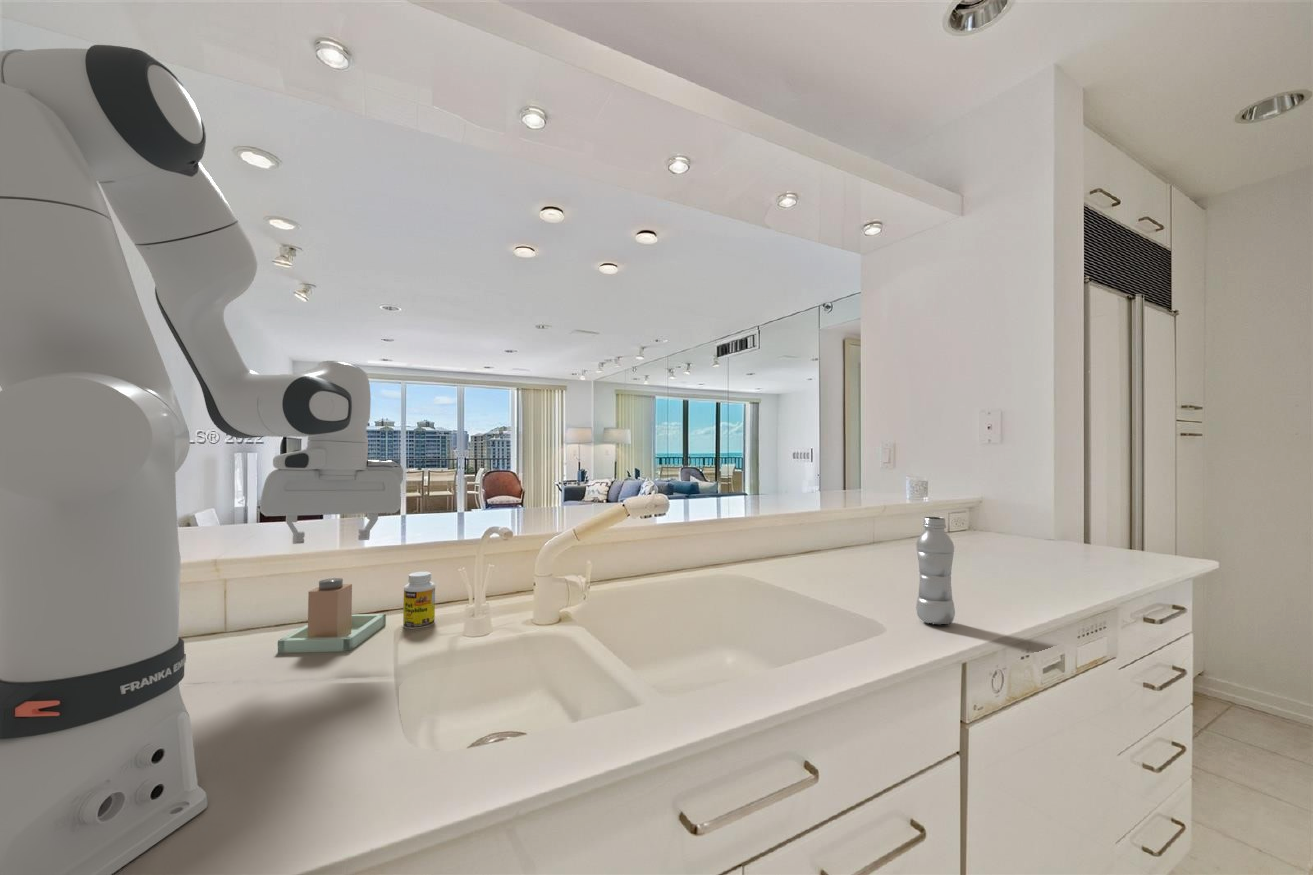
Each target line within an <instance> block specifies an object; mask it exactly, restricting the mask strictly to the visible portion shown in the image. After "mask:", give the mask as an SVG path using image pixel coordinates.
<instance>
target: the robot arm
mask: <svg viewBox="0 0 1313 875" xmlns="http://www.w3.org/2000/svg"><path fill="white" fill-rule="evenodd" d="M203 121H204V120H203V118H202V115H201V113H200V111H199V109H198V107H197V105H196V103H195V101H194V100H193V98H192V96H191V94H190V93H189V91H188V90H187V88H186V87H185V86H184V84H183V83H182V82H181V81H180V79H179V77H178V76H176V74H174V73H173V71H172V70H170V69H169V68H168V67H167V66H166V65H164V64H163V63H162V62H160V61H159V60H157V58H156V59H155V58H154V57H153V56H152V55H150V54H148V53H147V52H145V51H144V50H141V49H137V48H132V47H126V46H120V45H109V44H93V45H91V46H90V47H88V48H74V47H73V48H66V47H65V48H64V47H63V48H39V49H37V48H36V49H28V50H26V49H21V48H18V49H17V48H15V49H14V48H13V49H6V50H0V389H1V390H0V875H113V874H114V873H116V872H117V871H118V870H120V869H121V868H122V867H125V865H127V864H129V863H130V862H131V861H133V860H134V859H136V858H137V857H139V855H141V854H143V853H144V852H146V851H147V850H149V849H150V848H151V847H153V846H154V845H157V843H158V842H160V841H162V840H163V839H164V838H166V837H168V836H169V835H170V834H171V833H173V832H175V831H176V830H177V829H179V828H181V827H182V826H183V825H184V824H186V823H187V822H189V821H190V820H191V819H193V818H194V817H196V816H198V815H199V814H200V813H202V812H203V811H205V809H206V808H207V807H208V796H207V792H206V791H205V790H204V789H203V788H202V787H201V786H199V785H198V784H199V777H198V775H197V770H196V758H195V750H194V749H195V748H194V747H195V746H194V740H193V732H192V730H193V729H192V723H191V718H190V714H189V711H188V710H187V708H186V705H185V703H184V701H183V698H182V694H181V689H180V683H181V681H183V678H184V677H185V664H186V663H187V654H186V653H185V641H184V639H183V638H181V637H179V636H180V635H179V632H180V631H179V630H180V601H181V600H180V598H181V553H180V542H179V531H178V516H177V515H178V512H177V491H176V489H177V488H176V486H177V485H176V484H177V483H176V482H177V480H176V473H177V472H178V471H179V470H180V468H181V467H182V466H183V464H184V462H185V461H186V459H187V457H188V454H189V451H190V447H191V446H190V445H191V439H190V438H191V437H190V436H191V435H190V432H189V429H188V425H187V423H186V420H185V416H184V414H183V410H182V409H181V406H180V403H179V400H178V398H177V395H176V393H175V390H174V387H173V384H172V382H171V380H170V376H169V374H168V371H167V368H166V366H165V363H164V361H163V358H162V356H161V353H160V350H159V348H158V346H157V343H156V340H155V338H154V335H153V333H152V331H151V329H150V325H149V323H148V320H147V318H146V316H145V313H144V310H143V307H142V305H141V302H140V299H139V297H138V296H139V295H138V294H137V290H136V288H135V284H134V281H133V278H132V275H131V272H130V269H129V266H128V263H127V260H126V258H125V255H124V252H123V248H122V246H121V242H120V239H119V237H118V232H117V230H116V227H115V224H114V221H113V219H112V216H111V213H110V211H109V207H108V205H107V202H108V203H109V206H110V207H111V209H112V211H113V212H114V215H115V217H116V218H117V219H118V222H119V223H120V224H121V226H122V228H123V230H124V231H125V233H126V234H127V236H128V238H130V241H132V243H133V244H134V246H135V248H136V249H137V251H138V253H139V254H140V255H141V257H142V259H143V260H144V262H145V265H146V266H147V268H148V270H149V272H150V274H151V276H152V280H153V283H154V284H155V288H154V294H155V300H156V302H157V305H158V309H159V310H160V314H162V317H163V319H164V321H165V323H166V325H167V326H168V329H169V330H170V332H171V334H172V336H173V338H174V340H175V341H176V343H177V345H178V347H179V349H180V351H181V352H182V355H183V356H184V358H185V359H186V361H187V363H188V365H189V367H190V368H191V371H192V373H193V374H194V375H195V378H196V380H197V381H198V383H199V385H200V386H199V387H200V388H201V392H202V396H203V399H204V403H205V408H206V411H207V413H208V416H209V418H210V420H211V421H212V423H213V424H214V425H215V427H216V428H217V429H218V430H220V431H221V432H222V433H223V434H226V436H227V435H228V436H230V437H233V438H236V439H237V438H238V439H254V438H264V437H271V438H273V437H274V438H275V437H279V438H280V437H281V438H288V437H289V438H290V437H293V438H294V437H299V438H301V437H304V438H305V437H307V443H306V447H305V448H304V449H301V450H300V449H295V450H292V451H290V452H286V453H281V454H278V455H275V456H274V457H273V459H272V466H273V468H275V470H272V471H271V472H270V473H269V474H268V475H267V476H266V478H265V480H264V484H263V487H262V492H261V497H260V502H259V512H260V513H261V514H262V515H264V517H285V523H286V525H288V528H289V529H290V531H291V533H292V545H299V544H305V539H304V538H305V534H306V533H305V531H298V529H297V528H296V526H295V525H294V523H297V522H298V516H319V515H320V516H321V515H322V516H327V515H328V516H329V515H359V514H361V515H364V514H366V519H367V520H369V521H368V522H367V523H366V525H365V526H364V528H359V529H358V537H357V538H358V540H359V541H369V540H370V534H371V530H372V529H373V527H374V526H375V525H376V523H377V522H378V520H379V514H395V513H397V512H398V511H399V510H400V509H401V508H402V494H401V484H402V483H403V480H404V468H403V467H402V466H401V465H400V464H399V463H396V462H395V461H392V460H386V461H385V460H384V461H383V460H376V459H374V460H373V459H372V460H371V459H369V460H368V452H369V451H368V450H369V439H368V435H367V434H368V433H367V428H368V423H369V422H370V419H371V404H372V403H371V399H372V397H371V385H370V379H369V377H368V374H367V372H366V371H365V370H363V369H362V368H361V367H360V366H359V367H358V366H356V365H354V364H352V363H347V362H343V361H338V360H325V361H320V362H319V363H318V364H317V366H314V367H313V368H311V369H310V368H309V369H308V370H307V369H306V370H305V371H298V372H294V373H291V374H290V373H288V374H261V373H259V372H256V371H254V370H252V369H251V368H249V367H248V366H247V365H246V364H245V362H244V361H243V358H242V356H241V354H240V352H239V350H238V348H237V346H236V344H235V341H234V340H233V338H232V336H231V333H230V331H229V330H228V327H227V324H226V322H225V319H224V317H225V316H224V315H225V310H226V307H227V306H228V305H229V304H230V303H231V302H233V301H234V300H235V299H238V298H239V297H241V296H242V295H243V294H245V292H246V291H247V290H248V289H249V288H250V287H251V285H253V284H252V283H253V282H254V280H255V279H256V278H255V277H256V275H257V272H258V271H257V270H258V260H257V258H256V257H257V256H256V253H255V250H254V248H253V245H252V243H251V241H250V239H249V237H248V235H247V234H246V232H245V230H244V228H243V227H242V225H241V223H240V222H239V219H238V217H237V216H236V214H235V213H234V211H233V210H232V209H233V208H231V206H230V204H229V203H228V201H227V199H226V198H225V196H224V194H223V193H222V192H221V190H220V189H219V187H218V186H217V185H216V183H215V182H214V180H213V178H212V177H211V176H210V174H209V172H207V170H206V169H205V168H204V166H203V165H202V163H201V162H200V161H201V160H202V159H203V157H204V154H205V149H206V143H207V141H206V140H207V135H206V134H207V133H206V128H205V125H204V122H203ZM100 187H101V189H102V190H101V189H100ZM102 192H103V193H104V196H105V198H106V200H107V202H106V200H105V198H104V196H103V193H102Z"/></svg>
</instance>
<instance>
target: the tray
mask: <svg viewBox="0 0 1313 875" xmlns="http://www.w3.org/2000/svg"><path fill="white" fill-rule="evenodd" d="M386 619H387V613H368V614H367V613H363V614H362V613H361V614H354V613H353V614H352V617H351V634H350V635H349V636H347V637H322V638H308V623H307V624H305V625H304V626H301V627H300V628H298V629H296V630H295V631H293V632H291V633H289V634H287V635H286V636H283V637H282V638H280V639H279V640H277V654H287V653H288V654H295V653H297V654H300V653H332V652H333V653H335V652H336V653H337V652H338V653H339V652H351V651H353V649H355V648H357V647H358V646H359V645H360V644H361V643H363V642H364V641H366V640H367V639H368V638H370V637H371V636H372V635H374V634H375V633H376V632H378V631H379V630H380V629H382V628H383V627H384V626H386V624H387V620H386Z"/></svg>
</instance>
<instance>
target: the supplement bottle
mask: <svg viewBox="0 0 1313 875" xmlns="http://www.w3.org/2000/svg"><path fill="white" fill-rule="evenodd" d="M402 610H403V616H402V619H403V620H402V623H403V624H402V626H403V627H404V628H405V629H421V628H426V627H429V626H431V625H434V624H435V619H436V616H435V614H436V613H435V612H436V584H435V582H433V581H432V573H431V572H430V571H415V572H412V573H410V574H408V583H406V584H405V585H404V587H403V609H402Z"/></svg>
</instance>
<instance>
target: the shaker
mask: <svg viewBox="0 0 1313 875" xmlns="http://www.w3.org/2000/svg"><path fill="white" fill-rule="evenodd" d="M343 582H344V580H343V578H341V577H333V578H332V577H331V578H325V579H321V580H319V581H318V587H316V588H313V589H311V590H309V591H308V593H307V594H308V597H307V598H308V599H307V600H308V602H307V606H308V608H307V609H308V610H307V624H308V638H322V637H347V636H349V635H350V634H351V617H352V615H353V614H352V612H353V610H352V608H353V607H352V605H353V603H352V602H353V584H352V583H343Z"/></svg>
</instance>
